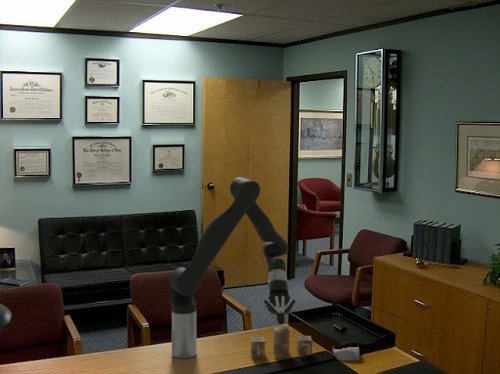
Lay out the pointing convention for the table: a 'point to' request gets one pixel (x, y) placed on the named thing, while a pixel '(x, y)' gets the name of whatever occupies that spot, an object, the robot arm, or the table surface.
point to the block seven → (304, 345)
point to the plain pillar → (281, 342)
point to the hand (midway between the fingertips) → (281, 323)
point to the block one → (257, 347)
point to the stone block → (347, 353)
